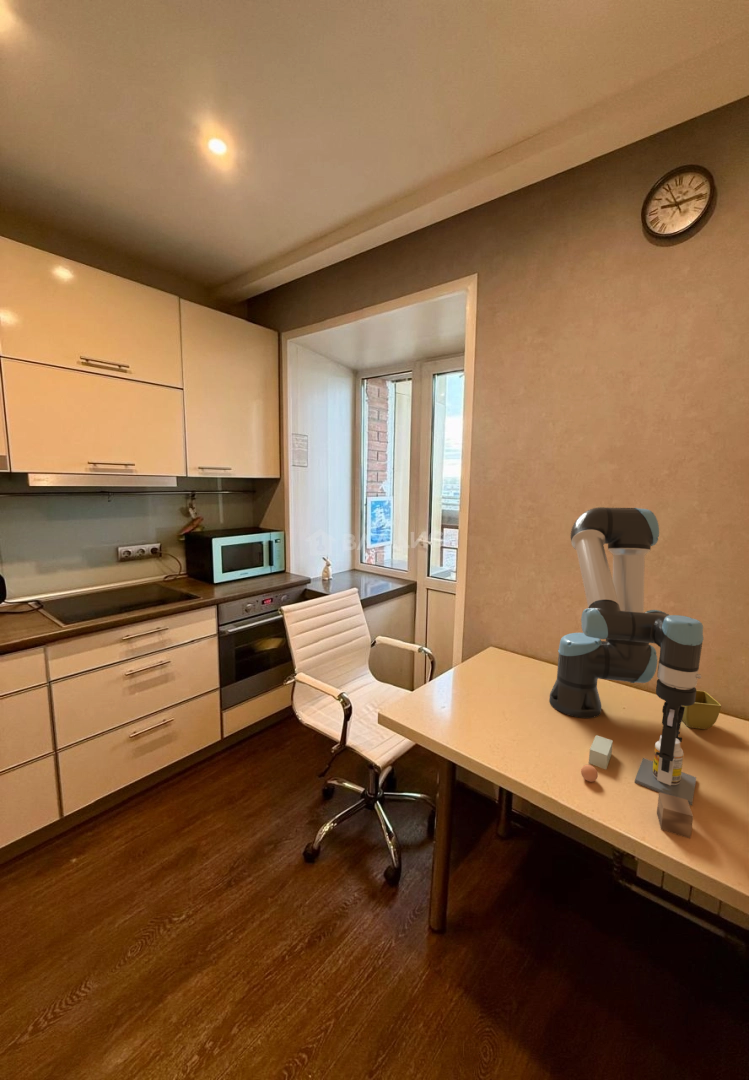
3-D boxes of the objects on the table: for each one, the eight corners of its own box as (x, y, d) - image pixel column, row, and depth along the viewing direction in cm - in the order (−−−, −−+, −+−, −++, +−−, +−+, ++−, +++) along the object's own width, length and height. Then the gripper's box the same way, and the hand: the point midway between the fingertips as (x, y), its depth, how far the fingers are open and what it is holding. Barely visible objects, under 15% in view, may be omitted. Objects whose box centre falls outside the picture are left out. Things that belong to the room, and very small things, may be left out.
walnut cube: (660, 829, 87) (663, 807, 86) (656, 813, 91) (659, 792, 91) (690, 838, 85) (693, 816, 84) (684, 821, 89) (687, 799, 89)
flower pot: (718, 734, 121) (722, 705, 120) (684, 730, 123) (688, 701, 122) (702, 718, 130) (705, 690, 129) (670, 715, 132) (673, 687, 130)
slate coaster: (634, 782, 101) (634, 779, 101) (642, 760, 109) (643, 757, 109) (691, 805, 94) (692, 802, 93) (695, 780, 102) (696, 777, 102)
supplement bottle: (653, 767, 105) (657, 729, 104) (681, 777, 101) (685, 738, 100) (650, 779, 101) (654, 739, 99) (678, 790, 97) (683, 749, 96)
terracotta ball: (578, 780, 101) (579, 766, 101) (582, 772, 104) (583, 759, 103) (594, 787, 99) (596, 773, 98) (598, 779, 102) (600, 765, 101)
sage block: (588, 763, 108) (589, 749, 107) (594, 748, 114) (595, 735, 113) (606, 770, 105) (607, 755, 105) (611, 754, 112) (612, 740, 111)
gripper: (692, 704, 88) (680, 804, 91) (699, 673, 103) (689, 760, 106) (650, 693, 93) (640, 788, 96) (663, 664, 108) (654, 747, 111)
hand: (666, 773), depth 101 cm, fingers open, 7 cm apart
